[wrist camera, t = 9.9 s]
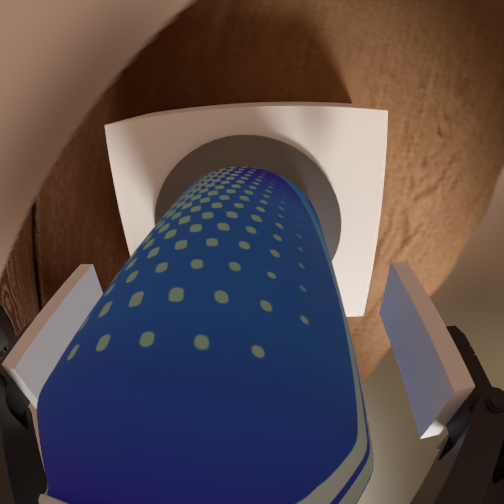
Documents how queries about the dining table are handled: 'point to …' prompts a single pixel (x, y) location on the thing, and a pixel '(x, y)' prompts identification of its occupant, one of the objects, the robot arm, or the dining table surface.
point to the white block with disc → (264, 157)
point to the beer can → (213, 364)
